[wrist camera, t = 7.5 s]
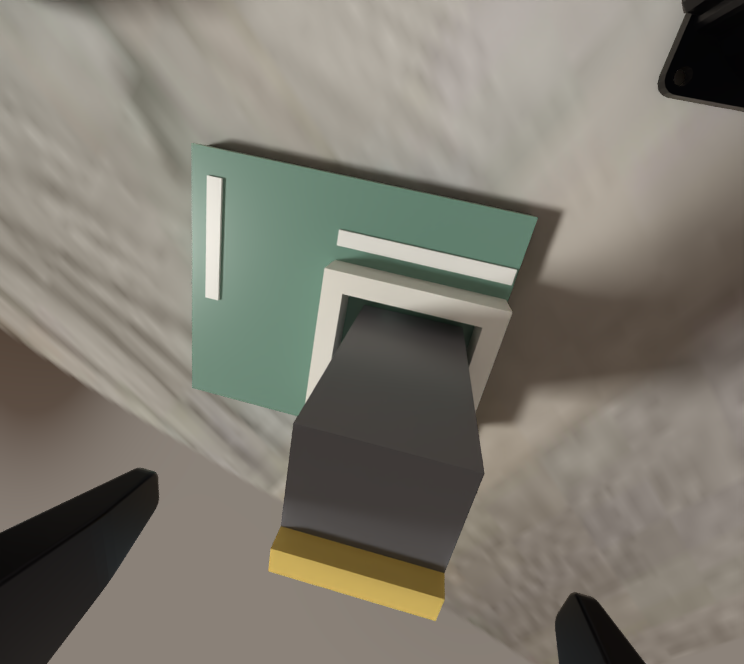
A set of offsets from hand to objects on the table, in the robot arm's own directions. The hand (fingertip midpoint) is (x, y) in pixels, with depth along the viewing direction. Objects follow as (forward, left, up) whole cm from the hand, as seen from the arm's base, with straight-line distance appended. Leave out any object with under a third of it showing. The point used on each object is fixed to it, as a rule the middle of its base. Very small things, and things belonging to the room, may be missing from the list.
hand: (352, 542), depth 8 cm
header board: (+3, -1, -10) cm, 10 cm away
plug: (0, 0, -9) cm, 9 cm away
